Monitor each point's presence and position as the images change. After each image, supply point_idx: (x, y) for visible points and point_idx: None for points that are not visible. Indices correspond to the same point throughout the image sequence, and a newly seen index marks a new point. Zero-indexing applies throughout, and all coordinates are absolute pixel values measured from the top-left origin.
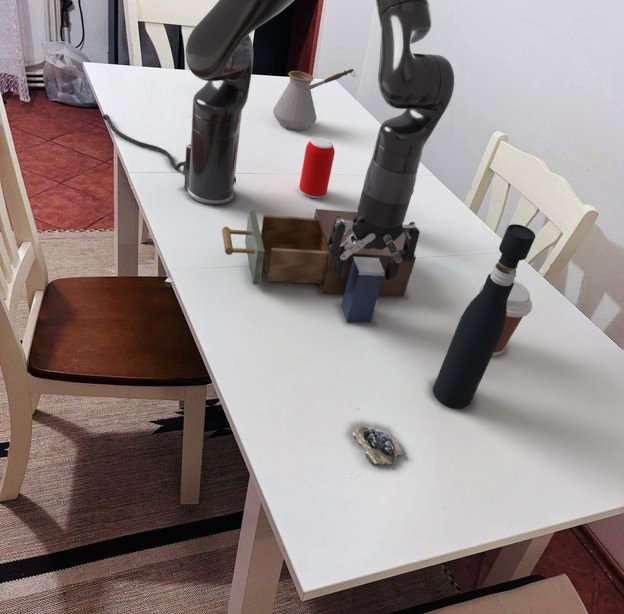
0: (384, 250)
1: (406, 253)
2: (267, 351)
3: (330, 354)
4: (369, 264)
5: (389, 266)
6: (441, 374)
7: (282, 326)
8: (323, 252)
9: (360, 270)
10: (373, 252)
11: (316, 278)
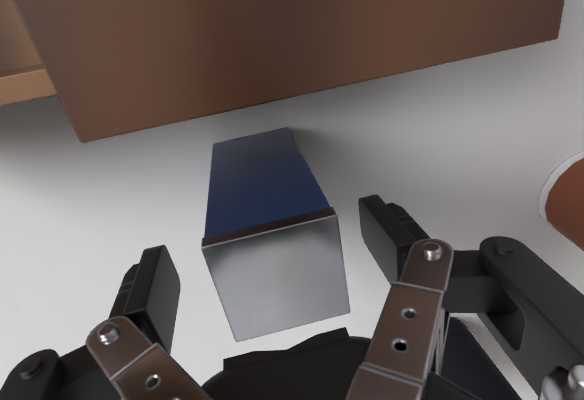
0: (396, 19)
1: (488, 320)
2: (58, 349)
3: (200, 319)
4: (285, 279)
5: (381, 251)
6: None
7: (62, 270)
8: (42, 88)
9: (241, 332)
10: (326, 65)
11: None
